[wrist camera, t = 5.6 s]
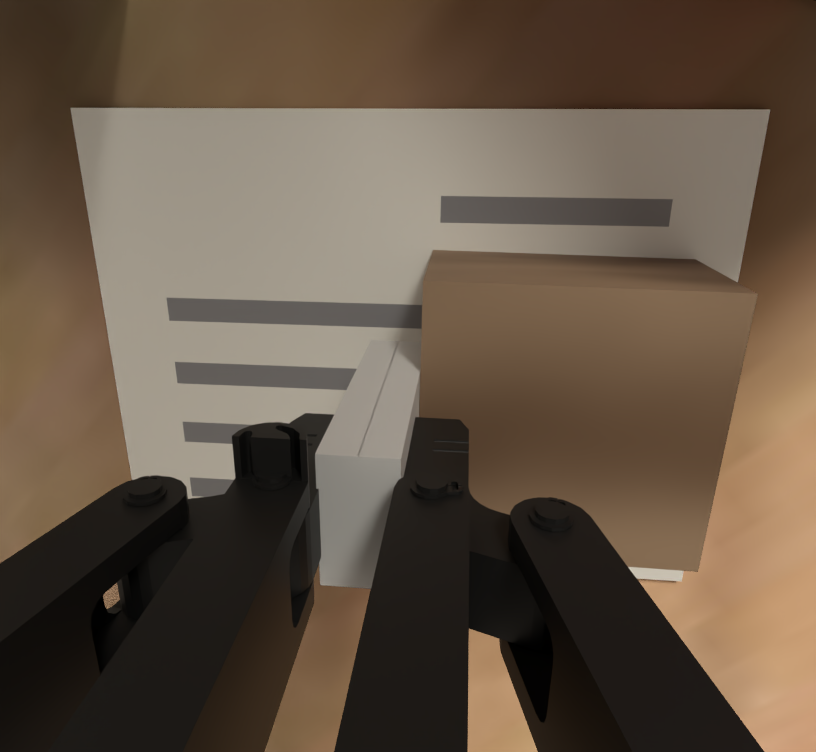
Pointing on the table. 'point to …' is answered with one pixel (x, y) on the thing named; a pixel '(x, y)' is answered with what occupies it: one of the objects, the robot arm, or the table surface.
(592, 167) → the letter
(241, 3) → the table surface
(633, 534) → the walnut block
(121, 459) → the table surface
